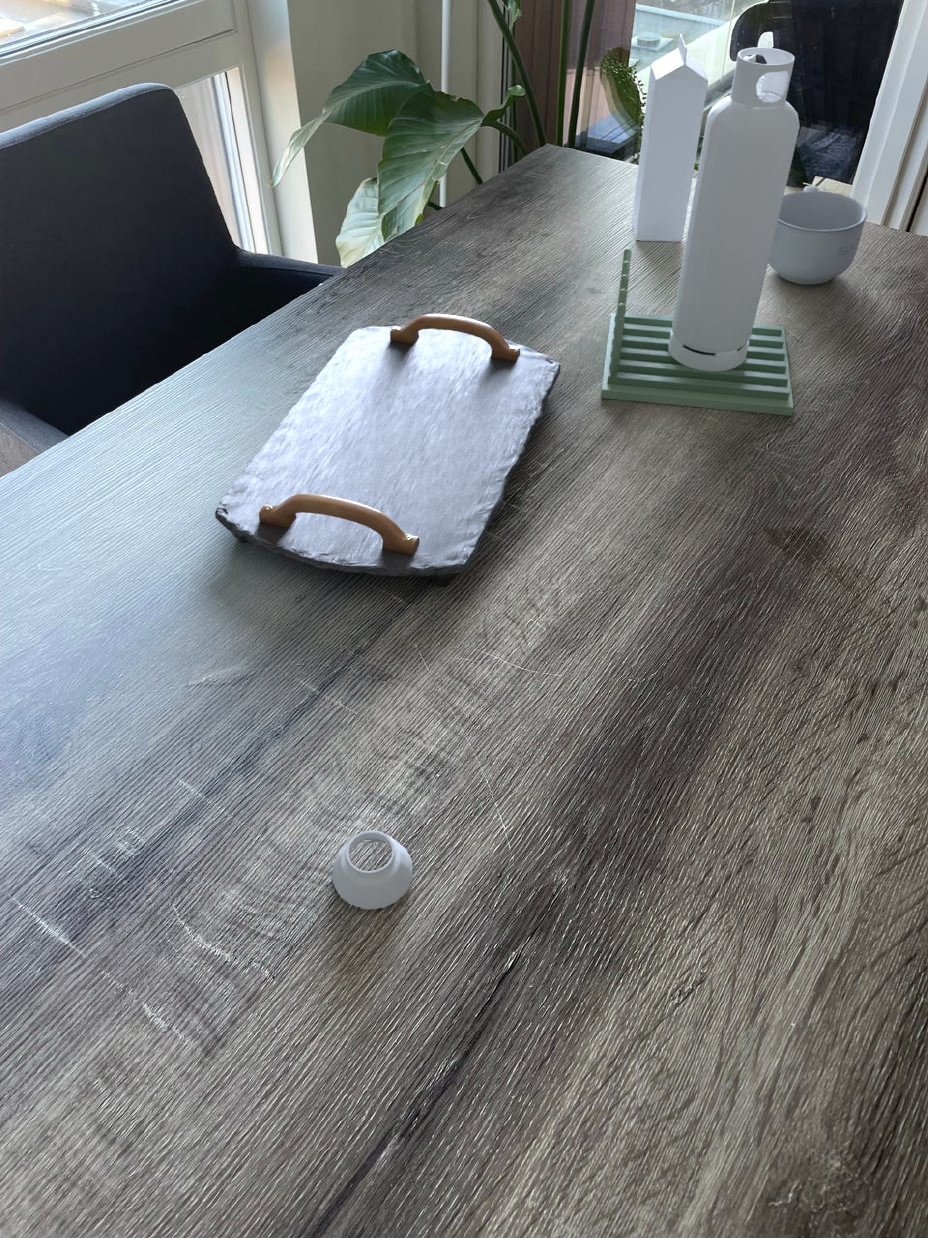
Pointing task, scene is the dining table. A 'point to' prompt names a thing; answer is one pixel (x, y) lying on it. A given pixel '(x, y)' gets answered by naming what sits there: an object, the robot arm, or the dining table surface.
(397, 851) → the grey flared ring
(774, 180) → the bottle
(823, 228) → the teacup
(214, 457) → the dining table surface
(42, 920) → the dining table surface
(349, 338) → the serving tray
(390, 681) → the dining table surface
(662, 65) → the milk
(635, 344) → the rack
